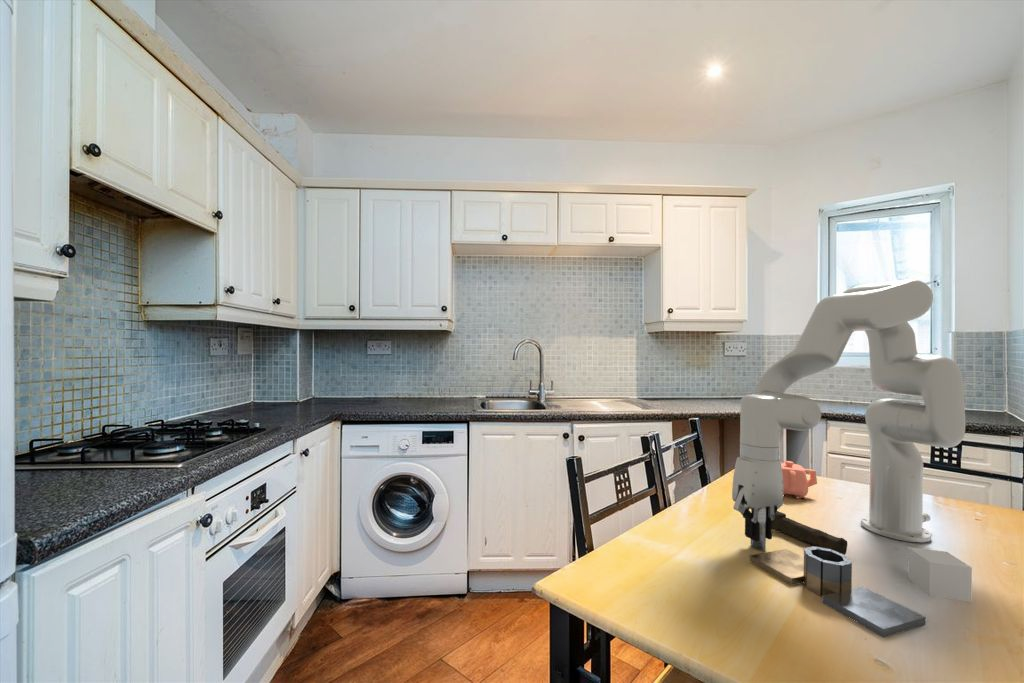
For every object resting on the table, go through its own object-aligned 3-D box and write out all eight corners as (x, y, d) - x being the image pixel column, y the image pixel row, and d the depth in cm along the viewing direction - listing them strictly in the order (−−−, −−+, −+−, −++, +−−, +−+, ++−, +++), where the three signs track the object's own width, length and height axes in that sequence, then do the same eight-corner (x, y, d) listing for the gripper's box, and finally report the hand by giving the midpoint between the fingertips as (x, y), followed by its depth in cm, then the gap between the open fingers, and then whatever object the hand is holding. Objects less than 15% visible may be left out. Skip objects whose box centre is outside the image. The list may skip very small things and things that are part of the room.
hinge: (785, 554, 90) (786, 525, 90) (925, 624, 68) (926, 586, 68) (749, 561, 87) (749, 531, 87) (883, 637, 64) (884, 596, 64)
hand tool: (849, 557, 90) (849, 534, 90) (836, 559, 89) (836, 537, 89) (767, 522, 108) (767, 503, 108) (755, 524, 106) (756, 505, 106)
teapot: (756, 489, 132) (756, 458, 133) (785, 486, 136) (785, 455, 136) (791, 502, 121) (791, 468, 122) (821, 498, 125) (822, 465, 125)
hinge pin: (757, 543, 95) (758, 497, 95) (768, 549, 92) (769, 502, 92) (747, 545, 94) (748, 499, 94) (758, 551, 91) (759, 503, 91)
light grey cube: (946, 584, 80) (947, 551, 80) (971, 602, 74) (972, 567, 74) (907, 578, 82) (908, 546, 82) (929, 596, 76) (929, 562, 76)
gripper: (771, 446, 99) (770, 526, 99) (716, 450, 94) (715, 535, 94) (803, 454, 92) (802, 540, 92) (745, 459, 87) (743, 550, 87)
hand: (758, 536), depth 93 cm, fingers closed on hinge pin, 2 cm apart
